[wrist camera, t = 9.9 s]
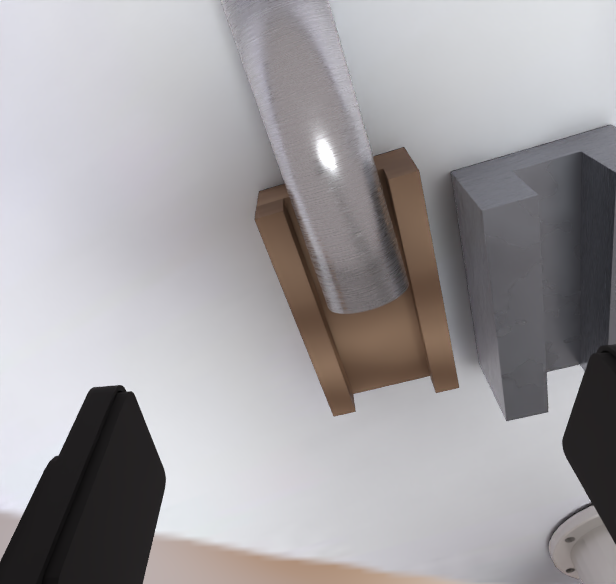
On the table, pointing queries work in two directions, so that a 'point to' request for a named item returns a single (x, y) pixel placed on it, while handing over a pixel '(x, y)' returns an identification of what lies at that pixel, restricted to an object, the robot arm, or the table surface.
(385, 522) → the table surface
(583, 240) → the v block
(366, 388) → the brown piece
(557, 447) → the table surface
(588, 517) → the robot arm
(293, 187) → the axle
